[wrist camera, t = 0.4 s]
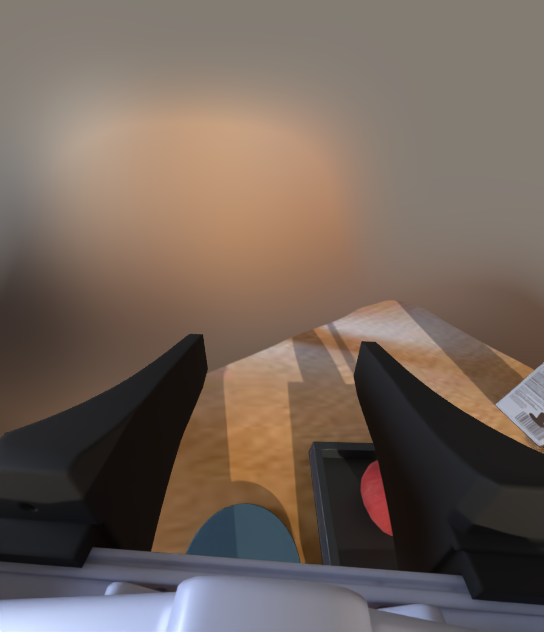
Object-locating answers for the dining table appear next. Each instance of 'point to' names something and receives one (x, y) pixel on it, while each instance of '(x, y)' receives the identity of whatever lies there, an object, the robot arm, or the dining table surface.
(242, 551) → the mat
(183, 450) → the dining table surface
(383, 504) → the onion
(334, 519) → the tray
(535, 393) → the coffee box
